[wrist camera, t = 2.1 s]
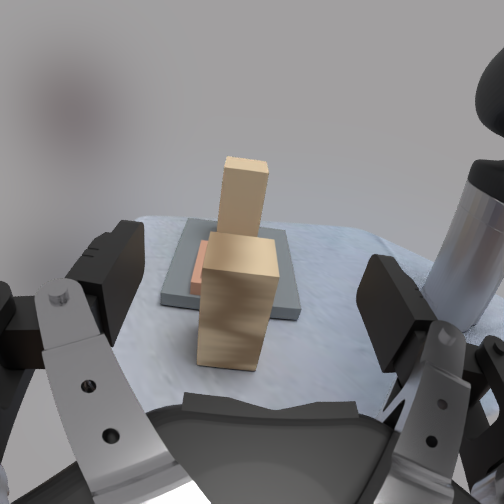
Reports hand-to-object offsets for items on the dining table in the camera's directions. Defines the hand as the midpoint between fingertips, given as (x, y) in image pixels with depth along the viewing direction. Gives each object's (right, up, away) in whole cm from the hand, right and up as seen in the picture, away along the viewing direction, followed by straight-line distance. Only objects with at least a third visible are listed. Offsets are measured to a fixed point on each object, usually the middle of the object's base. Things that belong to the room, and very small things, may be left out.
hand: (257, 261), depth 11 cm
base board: (-2, -1, +28) cm, 28 cm away
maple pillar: (-2, -8, +17) cm, 19 cm away
